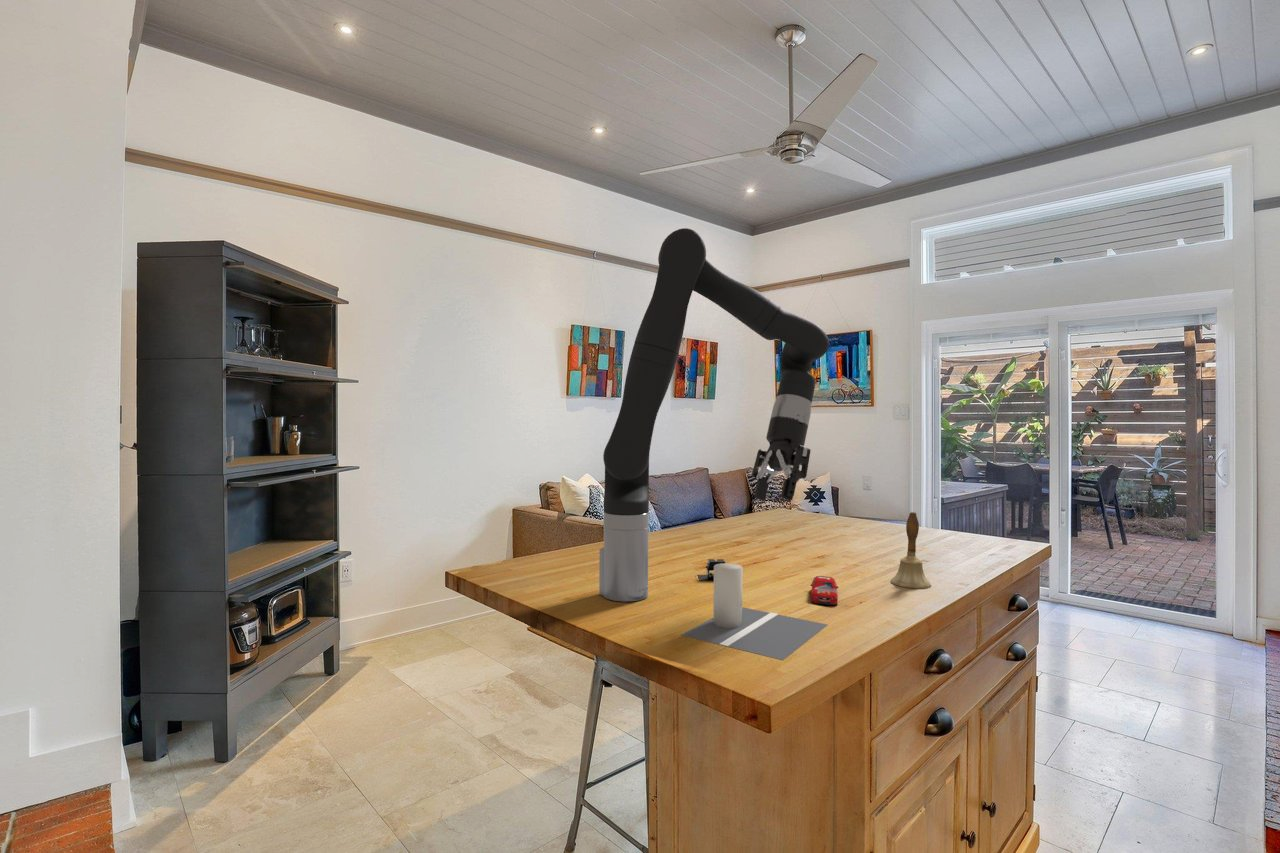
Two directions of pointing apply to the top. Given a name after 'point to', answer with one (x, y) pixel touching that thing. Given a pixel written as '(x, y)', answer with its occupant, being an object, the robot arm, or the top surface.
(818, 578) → the race car
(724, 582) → the white cylinder
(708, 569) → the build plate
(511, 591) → the top surface
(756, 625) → the gray striped mat
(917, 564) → the hand bell
